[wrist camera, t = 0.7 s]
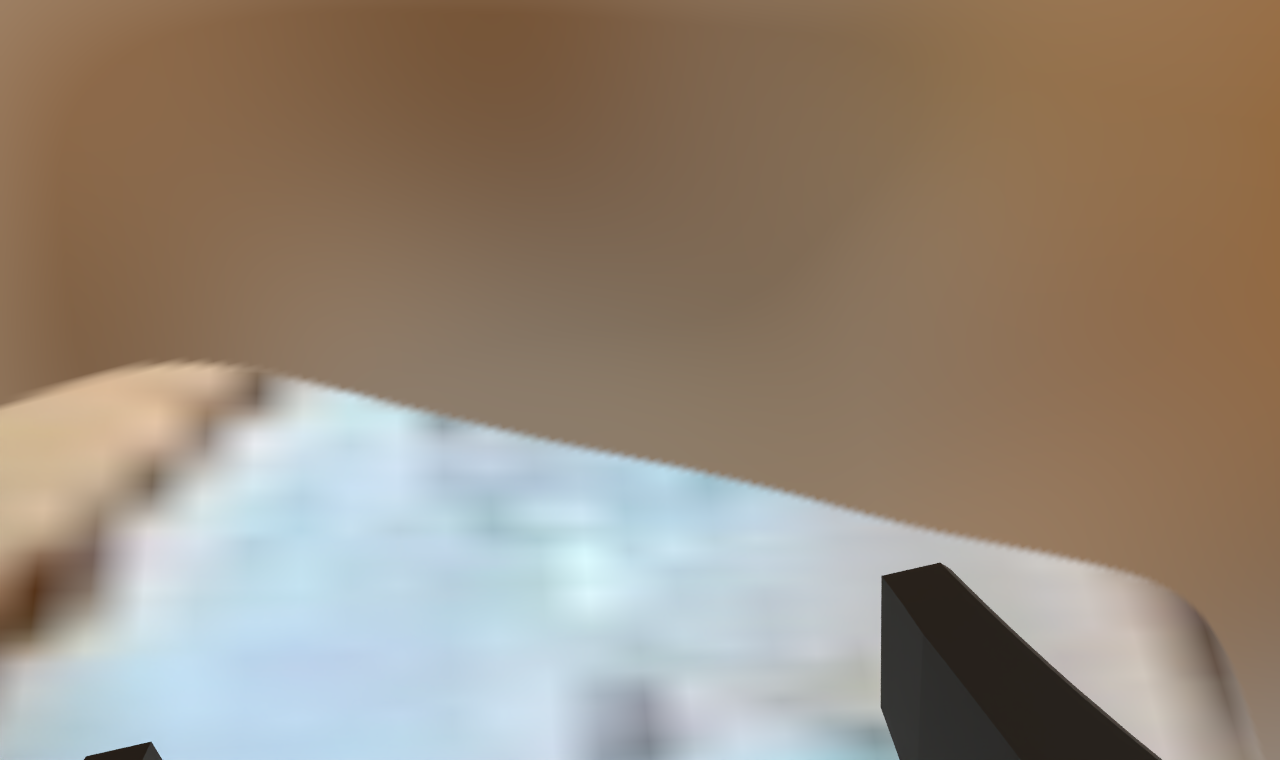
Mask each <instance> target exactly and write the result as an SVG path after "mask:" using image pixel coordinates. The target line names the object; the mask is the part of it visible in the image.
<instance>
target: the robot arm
mask: <svg viewBox="0 0 1280 760" xmlns="http://www.w3.org/2000/svg"><path fill="white" fill-rule="evenodd" d="M881 709H882V712H883V715H884V717H885V720H886V723H887V726H888V728H889V731H890V734H891V737H892V739H893V742H894V745H895V748H896V751H897V753H898V756H899V759H900V760H1162V759H1161V758H1159V757H1158V756H1157V755H1156V754H1155V753H1153V752H1152V751H1151V750H1150V749H1148V748H1147V747H1146V746H1145V745H1143V744H1142V743H1141V742H1140V741H1139V740H1137V739H1136V738H1135V737H1134V736H1132V735H1131V734H1130V733H1129V732H1128V731H1127V730H1125V729H1124V728H1123V727H1122V726H1121V725H1120V724H1118V723H1117V722H1116V721H1115V720H1114V719H1113V718H1111V717H1110V716H1109V715H1108V714H1107V713H1106V712H1104V711H1103V710H1102V709H1101V708H1100V707H1098V706H1097V705H1096V704H1095V703H1094V702H1093V701H1091V700H1090V699H1089V698H1088V697H1087V696H1086V695H1084V694H1083V693H1082V692H1081V691H1080V690H1079V689H1077V688H1076V687H1075V686H1074V685H1073V684H1072V683H1071V682H1069V681H1068V680H1067V679H1066V678H1065V677H1064V676H1063V675H1062V674H1060V673H1059V672H1058V671H1057V670H1056V669H1055V668H1054V667H1053V666H1052V665H1050V664H1049V663H1048V662H1047V661H1046V660H1045V659H1044V658H1043V657H1042V656H1041V655H1040V654H1038V653H1037V652H1036V651H1035V650H1034V649H1033V648H1032V647H1031V646H1030V645H1029V644H1028V643H1026V642H1025V641H1024V640H1023V639H1022V638H1021V637H1020V636H1019V635H1018V634H1017V633H1016V632H1015V631H1014V630H1013V629H1011V628H1010V627H1009V626H1008V625H1007V624H1006V623H1005V622H1004V621H1003V620H1002V619H1001V618H1000V617H999V616H998V615H997V614H996V613H995V612H994V611H993V610H991V609H990V608H989V607H988V606H987V605H986V604H985V603H984V602H983V601H982V600H981V599H980V598H979V597H978V596H977V595H976V594H975V593H974V592H973V591H972V590H971V589H970V588H969V587H968V586H967V585H966V584H965V583H964V582H963V581H962V580H961V579H960V578H959V577H958V576H957V575H956V574H955V573H954V572H953V571H952V570H951V569H949V568H948V567H946V566H945V565H943V564H942V563H937V564H932V565H928V566H923V567H919V568H915V569H910V570H906V571H901V572H897V573H892V574H888V575H884V576H882V601H881ZM84 760H162V758H161V757H160V755H159V754H158V752H157V750H156V749H155V747H154V745H153V744H152V742H148V743H143V744H139V745H135V746H130V747H126V748H121V749H117V750H112V751H108V752H104V753H99V754H95V755H90V756H86V757H85V759H84Z"/></svg>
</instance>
